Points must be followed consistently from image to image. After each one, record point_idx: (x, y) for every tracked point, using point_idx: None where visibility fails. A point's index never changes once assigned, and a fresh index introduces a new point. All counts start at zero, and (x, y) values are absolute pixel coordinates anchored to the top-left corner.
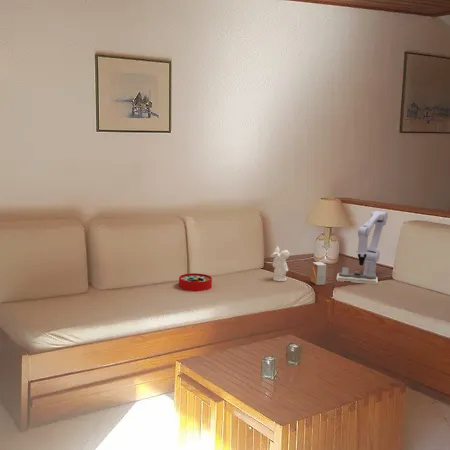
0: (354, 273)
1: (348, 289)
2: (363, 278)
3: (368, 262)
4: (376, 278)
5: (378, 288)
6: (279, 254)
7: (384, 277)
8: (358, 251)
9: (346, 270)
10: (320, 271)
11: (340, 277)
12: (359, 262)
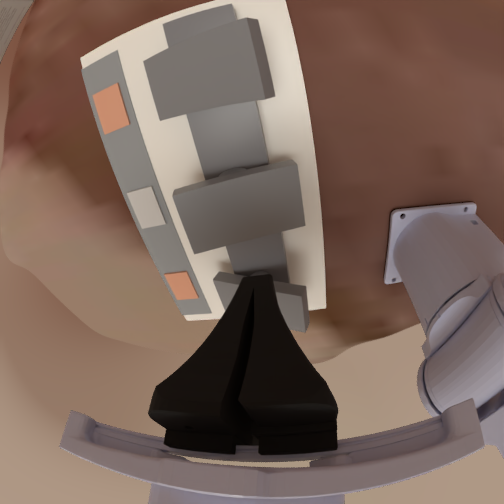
0: (220, 176)
1: (10, 203)
2: None
3: (439, 313)
4: None
5: (126, 315)
6: None
7: (376, 317)
8: (165, 490)
9: (206, 85)
10: None
11: (127, 64)
12: (229, 304)
